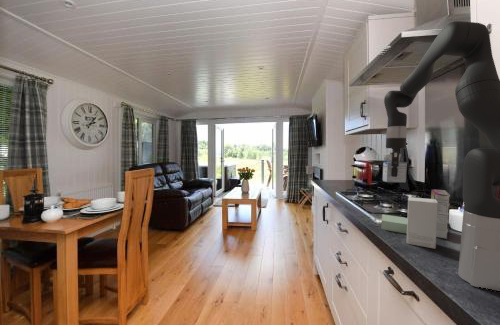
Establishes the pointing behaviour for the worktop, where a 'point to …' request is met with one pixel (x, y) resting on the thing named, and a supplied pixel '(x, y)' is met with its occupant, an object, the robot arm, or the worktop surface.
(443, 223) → the candy bar box
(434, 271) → the worktop surface
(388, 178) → the medicine box
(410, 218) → the skincare box
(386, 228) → the sage block
